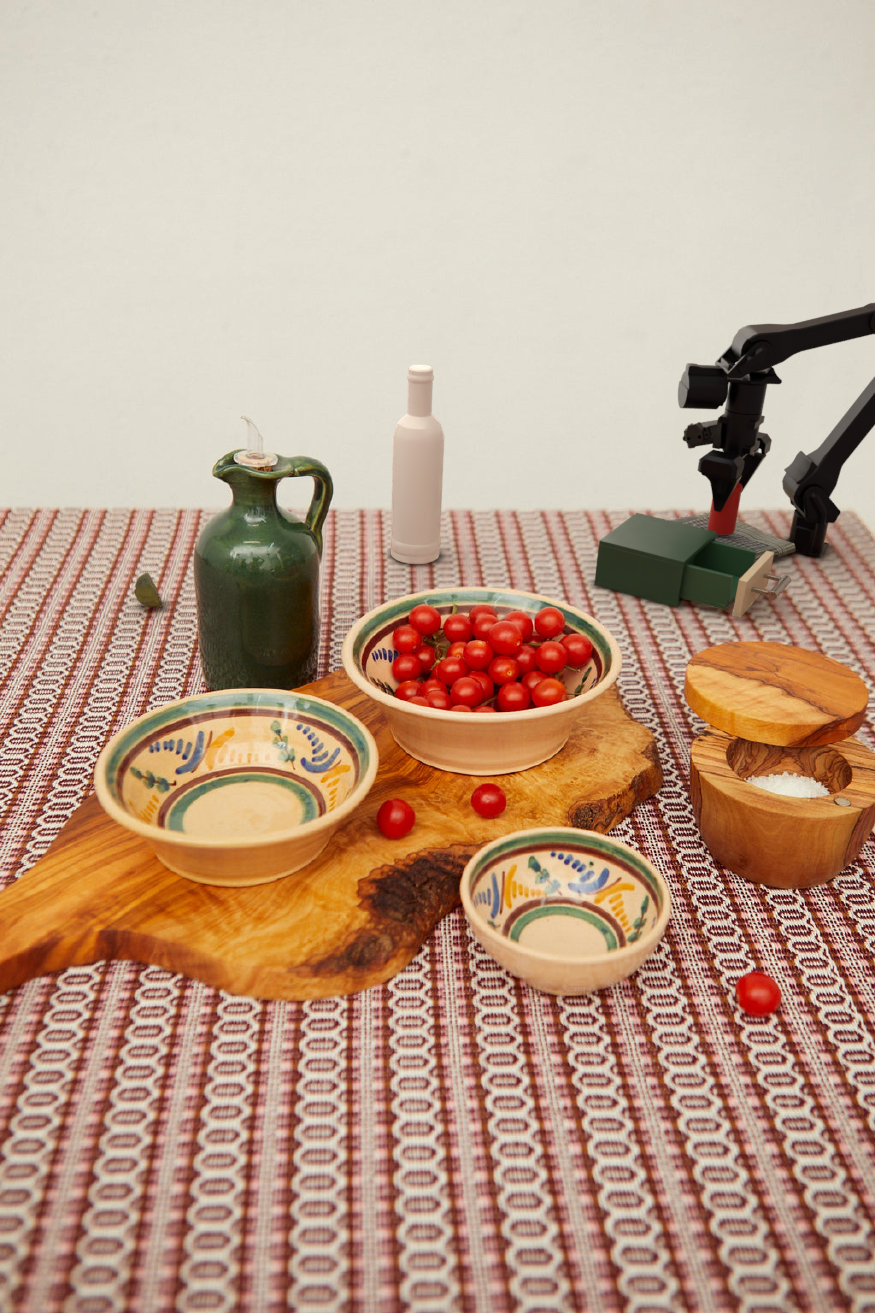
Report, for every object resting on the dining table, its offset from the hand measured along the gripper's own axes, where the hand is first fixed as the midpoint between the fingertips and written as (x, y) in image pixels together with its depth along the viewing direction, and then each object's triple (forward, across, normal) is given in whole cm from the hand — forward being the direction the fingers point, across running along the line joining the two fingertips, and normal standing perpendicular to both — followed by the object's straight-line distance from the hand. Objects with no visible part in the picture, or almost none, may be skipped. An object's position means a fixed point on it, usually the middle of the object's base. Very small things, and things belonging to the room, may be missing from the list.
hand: (727, 503), depth 180 cm
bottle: (+8, +34, -39) cm, 52 cm away
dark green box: (+8, +20, -4) cm, 22 cm away
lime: (+8, +72, -59) cm, 93 cm away
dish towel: (+8, 0, 0) cm, 8 cm away
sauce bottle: (+5, 0, 0) cm, 5 cm away
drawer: (+7, +20, +8) cm, 23 cm away
